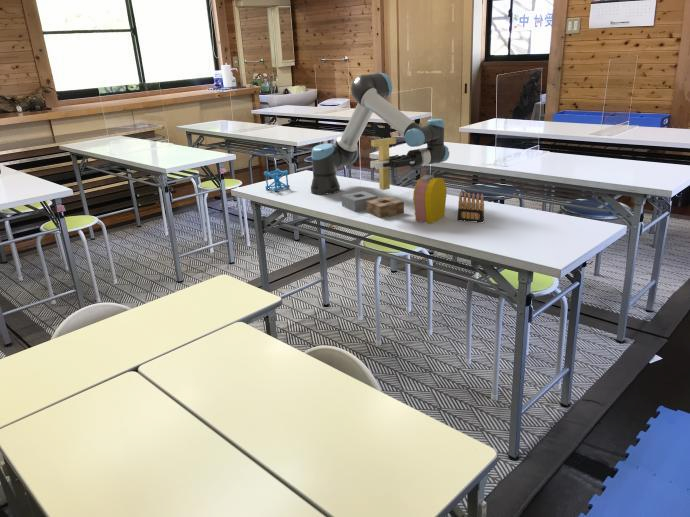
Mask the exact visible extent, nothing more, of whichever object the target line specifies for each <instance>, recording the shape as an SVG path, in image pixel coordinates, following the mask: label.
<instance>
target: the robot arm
mask: <svg viewBox="0 0 690 517" xmlns="http://www.w3.org/2000/svg"><path fill="white" fill-rule="evenodd" d="M392 91H393V84H392V80H391V79H390V77H389V76H388V75H387V74H386V73H383V72H376V73H368V74H360V75H358V76H357V77H356V78H354V79H353V81H352V83H351V86H350V92H351V96H352V98H353V99H354V101H355V102H356V103H357V105H356V106H355V108H354V110H353V112H352V115H351V116H350V119H349V121H348V123H347V124H346V126H345V129H344V131H343V133H342V134H341V136H338V137H337V138H336V141H335V143H334V144H333V143H321V144H320V143H319V144H317V145H315V146H314V147H312V149H311V156H310V157H311V164H312V181H311V185H310V193H312V192H313V193H312V194H314V193H319V194H318V195H328V194H327V193H332V194H335V193H334V192H336V193H338V192H340V191H339V190H341V185H340V183H339V181H338V178H337V174H336V173H337V172H336V169H337V168H341V167H345V166H350V165H352V164H353V163H355V162H356V161H357V159H358V157H359V148H358V142H359V140H360V138H361V137H362V134H363V132H364V131H365V129H366V126H367V125H368V123H369V121H370V119H371V117H372V115H373V113H374V114H375V115H376V116H377V117H379V118H380V119H381V120H382V121H383V122H386V124H388V125H389V126H390V127H392V128H393V129H394V130H395V131H397V132H398V133H399V134H401V135H402V136H403V137H404V142H405V143H406V145H407V146H408V147H412V148H415V147H421V146H423V145H426V147H422V148H417V149H410V150H408V151H407V153H406V154H402V155H399V154H395V155H391V156H390V155H389V161H383V162H379V159H378V160H376V159H375V160H370V163H369V165H370V166H369V167H370V169H373V168H375V170H379V169H382V168H388V167H389V168H394V169H396V168H404V167H411V168H417V167H425V166H427V165H433V164H439V163H440V164H441V163H443V162H446V161H447V160H448V159H449V157H450V151H449V147H448V146H447V145H445V121H444V119H443V118H429V119H428V120H427V122H426V125H424V126H421V125H419V124H418V123H416V121H414V120H412V119H411V118H410V117H408V116H407V115H406V114H404V113H403V112H402V111H401V110H400V109H398V108H397V107H396V106H394V105H393V104H392V103H391V102H389V101H388V100H386V99H387V98H388V97H389V98H390V96H391V95H392ZM337 191H338V192H337Z"/></svg>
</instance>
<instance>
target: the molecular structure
mask: <svg viewBox="0 0 690 517" xmlns="http://www.w3.org/2000/svg"><path fill="white" fill-rule="evenodd" d="M288 174H289V171H288V170H287V169H286V170H284V171H283V170H280V168H276V169H275V170H273V171H272V170H271V171H264V172H263V175H264V176H265V182H266V186H265V190H267V189H268V188H269V190H272V189H273V191H274V192H275V191H277V192H279V191H280V190H283V189H286V188H289V187H291V186H290V184H289V179H288ZM280 175H281V176H280ZM284 176H285V180H286V181H285V182H286V184H285V183H284V182H282V181H281V180H280V179H282V178H283V177H284ZM268 177H270V178H271V179H273V182H272V183H270V184H269V182H268ZM278 186H280V187H278ZM270 187H271V188H270ZM289 189H290V188H289Z"/></svg>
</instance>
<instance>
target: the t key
mask: <svg viewBox="0 0 690 517" xmlns="http://www.w3.org/2000/svg"><path fill="white" fill-rule="evenodd" d="M370 142H371V143H370V146H371V147H374V148H375V147H377V148H378V160H379V162H383V161H389V157H390V145H395V144H397V137H394V136H393V137H391V136H390V137H385V138H379V139H372V140H370ZM378 174H379V175H378V176H379V177H378V179H379V181H378V182H379V183H378V185H379V189H380V190H383V191H385V190H390V186H391V185H390V183H391V182H390V180H391V179H390V166H389V167H388V168H382V169H378Z"/></svg>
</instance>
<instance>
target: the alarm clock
mask: <svg viewBox="0 0 690 517" xmlns="http://www.w3.org/2000/svg"><path fill="white" fill-rule="evenodd" d="M412 196H413V197H412V198H413V199H412V200H413V207H414V214H415V216H414V217H415V222H418V221H422V222H421V223H425V222H428V223H427V224H434V223H436V222H438V221H439V220H440V219H442V218H443V216H444V217H445V212H446V202H447V185H446V182H445V180H444V179H443V178H442V177H435V175H433V174H424V175H422V176H421V177H420V178H418V180H417V181H416V183H415V185H414V189H413V195H412ZM438 219H439V220H438ZM435 221H436V222H435ZM433 222H434V223H433Z"/></svg>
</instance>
